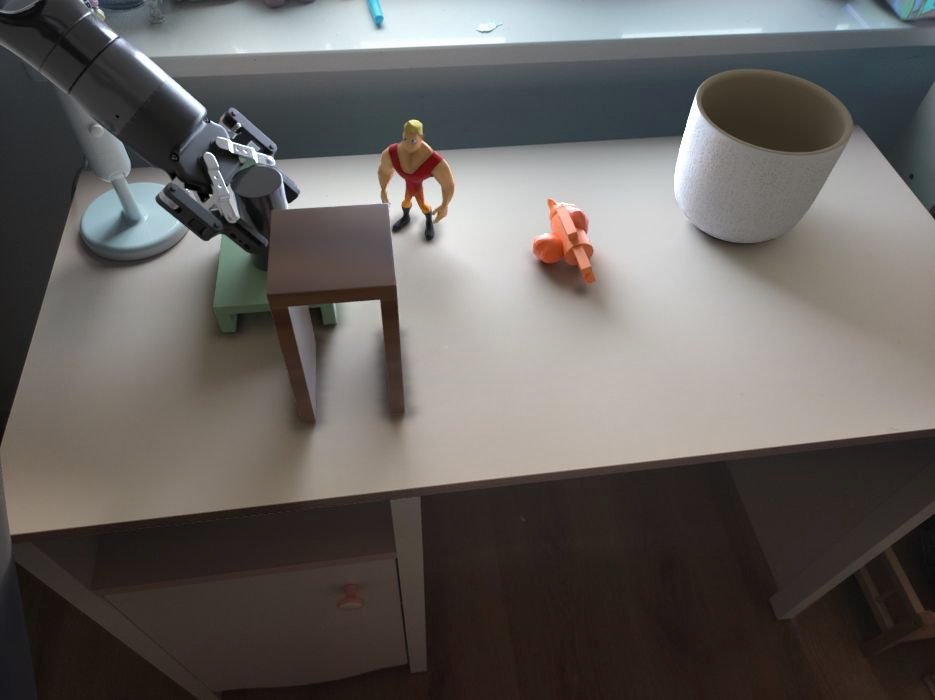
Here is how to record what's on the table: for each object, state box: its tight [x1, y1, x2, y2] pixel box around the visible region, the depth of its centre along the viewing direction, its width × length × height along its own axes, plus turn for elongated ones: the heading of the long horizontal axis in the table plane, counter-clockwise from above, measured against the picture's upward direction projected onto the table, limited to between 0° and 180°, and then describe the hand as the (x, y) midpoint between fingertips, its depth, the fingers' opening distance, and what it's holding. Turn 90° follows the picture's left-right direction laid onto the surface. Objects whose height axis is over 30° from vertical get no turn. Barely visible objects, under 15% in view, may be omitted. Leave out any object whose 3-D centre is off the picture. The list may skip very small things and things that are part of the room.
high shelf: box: [266, 202, 406, 424], centre depth 64 cm, size 10×10×18 cm
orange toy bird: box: [532, 197, 597, 285], centre depth 82 cm, size 5×8×12 cm
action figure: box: [377, 119, 456, 240], centre depth 80 cm, size 10×4×15 cm, turn 70°
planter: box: [673, 68, 854, 244], centre depth 83 cm, size 17×17×15 cm
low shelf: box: [212, 215, 338, 334], centre depth 78 cm, size 14×12×4 cm
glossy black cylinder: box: [229, 166, 290, 272], centre depth 73 cm, size 5×5×10 cm
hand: (279, 222), depth 72 cm, fingers open, 7 cm apart
